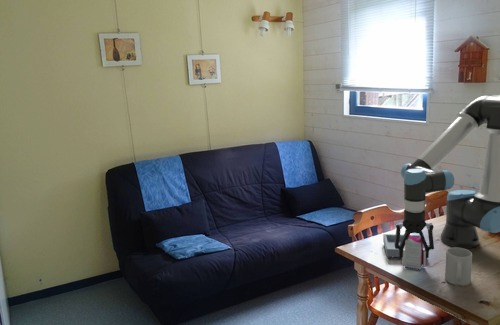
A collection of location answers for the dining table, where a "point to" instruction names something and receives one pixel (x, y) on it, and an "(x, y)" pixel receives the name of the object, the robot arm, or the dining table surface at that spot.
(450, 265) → the mug
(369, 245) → the dining table surface
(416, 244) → the supplement box
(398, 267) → the dining table surface
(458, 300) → the dining table surface
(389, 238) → the grey tray
